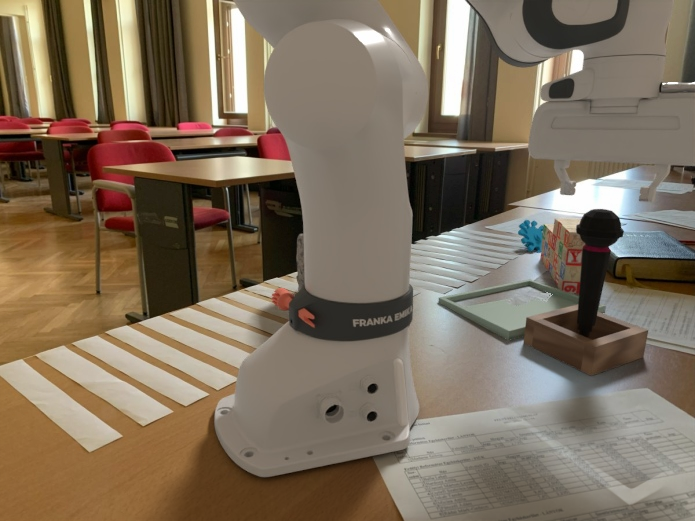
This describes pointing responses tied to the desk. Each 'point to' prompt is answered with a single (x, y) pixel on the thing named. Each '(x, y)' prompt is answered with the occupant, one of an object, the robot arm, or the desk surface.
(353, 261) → the robot arm
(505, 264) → the desk surface
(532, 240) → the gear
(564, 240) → the stack of blocks
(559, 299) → the tray
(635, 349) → the holder
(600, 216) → the microphone
